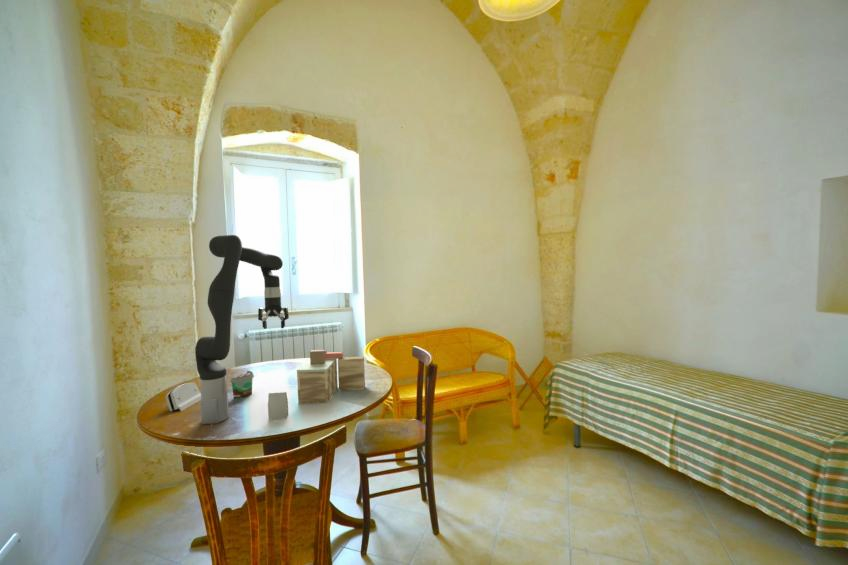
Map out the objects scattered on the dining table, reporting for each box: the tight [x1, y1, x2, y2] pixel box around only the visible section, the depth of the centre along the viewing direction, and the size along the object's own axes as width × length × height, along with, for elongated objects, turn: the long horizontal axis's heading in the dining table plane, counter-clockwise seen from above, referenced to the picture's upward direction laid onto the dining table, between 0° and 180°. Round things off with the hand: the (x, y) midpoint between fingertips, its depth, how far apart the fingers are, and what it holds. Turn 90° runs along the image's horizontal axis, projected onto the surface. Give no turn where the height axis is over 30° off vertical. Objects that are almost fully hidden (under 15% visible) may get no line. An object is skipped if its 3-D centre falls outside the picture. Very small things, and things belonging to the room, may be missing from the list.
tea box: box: [267, 391, 289, 421], centre depth 151 cm, size 4×7×10 cm, turn 97°
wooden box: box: [296, 356, 366, 405], centre depth 175 cm, size 20×26×15 cm
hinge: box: [165, 381, 201, 412], centre depth 168 cm, size 17×5×10 cm, turn 177°
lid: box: [296, 349, 338, 373], centre depth 174 cm, size 20×13×8 cm, turn 1°
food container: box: [230, 370, 255, 400], centre depth 177 cm, size 12×6×10 cm, turn 168°
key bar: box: [324, 349, 344, 359], centre depth 182 cm, size 2×12×4 cm, turn 91°
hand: (274, 328), depth 189 cm, fingers open, 8 cm apart
